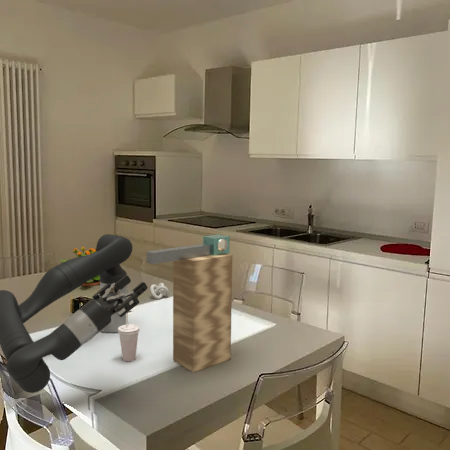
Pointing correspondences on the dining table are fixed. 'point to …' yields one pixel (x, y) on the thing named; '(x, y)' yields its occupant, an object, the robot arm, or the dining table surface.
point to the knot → (159, 291)
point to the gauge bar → (191, 250)
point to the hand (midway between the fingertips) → (137, 281)
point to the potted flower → (96, 279)
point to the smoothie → (128, 340)
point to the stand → (202, 311)
